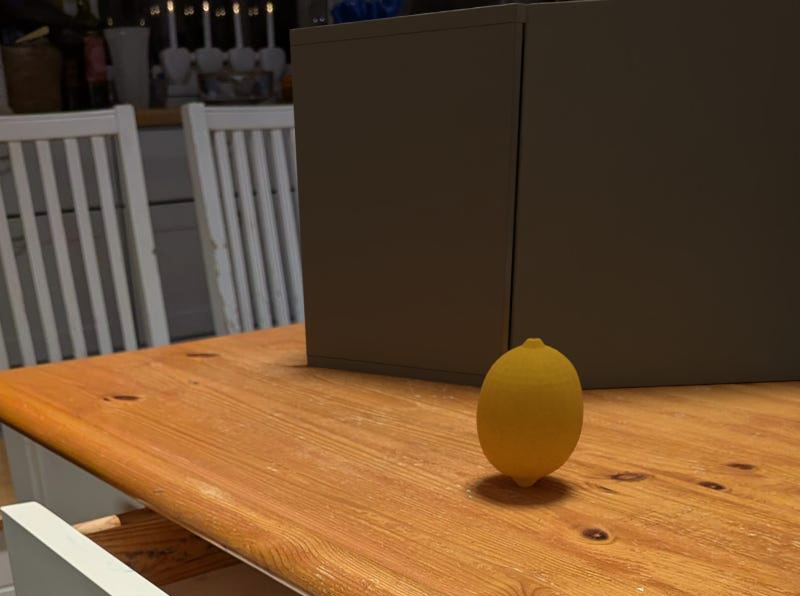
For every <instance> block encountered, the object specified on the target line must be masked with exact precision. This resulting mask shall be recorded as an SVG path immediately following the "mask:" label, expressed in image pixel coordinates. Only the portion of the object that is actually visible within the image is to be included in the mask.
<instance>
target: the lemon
mask: <svg viewBox="0 0 800 596" xmlns="http://www.w3.org/2000/svg"><path fill="white" fill-rule="evenodd" d="M582 390H583V389H581V385H580V381H579V377H578V374H577V372H576V370H575V368H574V366H573V365H572V364H571V362H570V361H569V360H568V359H567V358H566V357H565V356H564V355H563V354H561V353H560V352H558V351H557V350H555V349H553V348H551V347H549V346H546V345H545V344H544V343H543V342H542V340H541V339H538V338H530V339H527V340H526V341H525V342H524V344H523V345H521V346H519V347H516V348H514V349H512V350H510V351H508V352H507V353H505V354H504V355H502V356H501V357H500V358H499V359H498V360H497V361H496V362H495V363H494V364H493V365H492V367H491V368H490V370H489V372H488V373H487V375H486V377H485V379H484V382H483V385H482V388H480V391H479V394H478V395H479V396H478V400H477V406H476V420H475V421H476V432H477V437H478V441H479V444H480V449H481V450H482V453H483V455H484V457H485V458H486V460H487V461H488V462H489V463H490V464H491V466H492V467H493V468H495V470H496V471H498V472H500V473H501V474H503V475H505V476H508V477H510V478H512V480H513V481H514V482H515V483H516V484H517V485H518V487H520V488H525V489H526V488H530V487H532V486H533V485H534V484H535V483H537V481H539V480H540V479H541V478H543V477H546V476H550V475H551V474H552V473H554V472H556V471H558V470H559V469H561V467H563V466H564V464H565V463H566V462H567V461H568V460H569V458H571V456H572V454H573V453H574V451H575V450H576V447H577V445H578V443H579V440H580V438H581V433H582V429H583V423H584V413H585V412H584V411H585V410H584V409H585V408H584V397H583V391H582Z"/></svg>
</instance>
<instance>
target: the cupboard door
mask: <svg viewBox="0 0 800 596" xmlns="http://www.w3.org/2000/svg"><path fill="white" fill-rule="evenodd" d="M528 4H529V5H527V6H526V27H525V48H524V69H523V90H522V111H521V132H520V153H519V174H518V195H517V216H516V237H515V258H514V279H513V300H512V321H511V342H510V350H512V349H514V348H516V347H519V346H521V345H523V344H524V342H525V341H526V340H527V339H530V338H538V339H541V340H542V342H543V343H544V344H545V345H546V346H549V347H551V348H553V349H555V350H557V351H558V352H560V353H561V354H563V355H564V356H565V357H566V358H567V359H568V360H569V361H570V362H571V364H572V365H573V366H574V368H575V370H576V372H577V374H578V377H579V381H580V385H581V390H590V389H591V390H593V389H595V390H596V389H619V388H642V387H643V388H645V387H669V386H670V387H671V386H693V385H716V384H717V385H718V384H719V385H720V384H739V383H743V384H745V383H764V382H765V383H766V382H767V383H768V382H788V381H789V382H790V381H791V382H792V381H800V0H568V1H567V0H566V1H552V2H551V1H550V2H536V3H534V2H533V3H528Z"/></svg>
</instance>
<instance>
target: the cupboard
mask: <svg viewBox="0 0 800 596" xmlns="http://www.w3.org/2000/svg"><path fill="white" fill-rule="evenodd" d="M529 4H530V3H521V2H513V3H505V4H496V5H487V6H477V7H472V8H471V7H469V8H462V9H453V10H445V11H436V12H429V13H428V12H427V13H419V14H412V15H403V16H393V17H385V18H376V19H369V20H368V19H367V20H359V21H351V22H342V23H334V24H326V25H317V26H316V25H315V26H308V27H301V28H299V27H298V28H293V29H292V28H291V29H289V46H290V48H289V49H290V50H289V51H290V68H291V69H290V70H291V86H292V106H293V107H292V108H293V125H294V126H293V127H294V145H295V160H296V161H295V162H296V164H295V165H296V182H297V184H296V185H297V200H298V201H297V202H298V219H299V238H300V256H301V257H300V259H301V274H302V275H301V277H302V294H303V295H302V296H303V313H304V314H303V317H304V332H305V333H304V334H305V351H306V366H307V367H313V368H322V369H329V370H337V371H344V372H353V373H361V374H368V375H376V376H386V377H393V378H399V379H408V380H416V381H423V382H431V383H438V384H439V383H440V384H446V385H447V384H449V385H457V386H464V387H472V388H480V389H481V388H482V385H483V382H484V379H485V377H486V375H487V373H488V372H489V370H490V368H491V367H492V365H493V364H494V363H495V362H496V361H497V360H498V359H499V358H500V357H501V356H502V355H504V354H505V353H507V352H508V351H510V342H511V321H512V300H513V279H514V258H515V237H516V216H517V195H518V174H519V153H520V132H521V111H522V90H523V69H524V48H525V27H526V6H527V5H529Z"/></svg>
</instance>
